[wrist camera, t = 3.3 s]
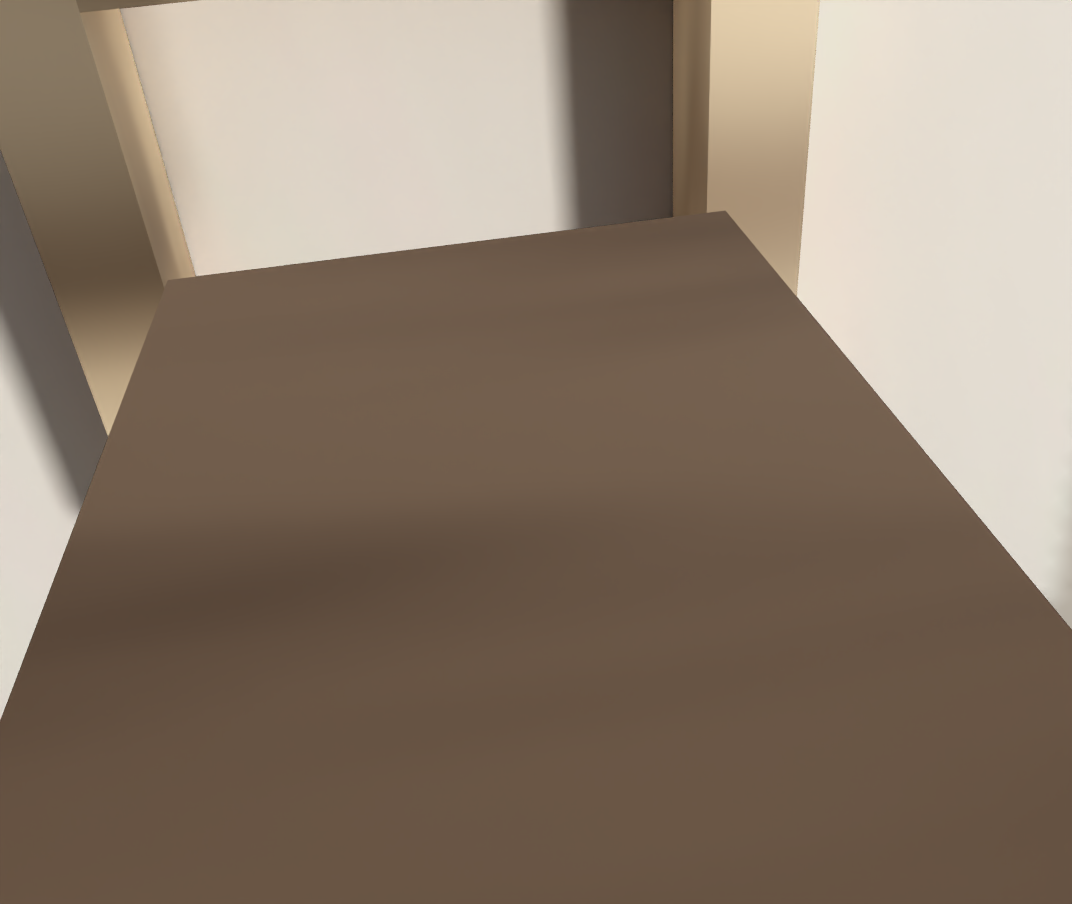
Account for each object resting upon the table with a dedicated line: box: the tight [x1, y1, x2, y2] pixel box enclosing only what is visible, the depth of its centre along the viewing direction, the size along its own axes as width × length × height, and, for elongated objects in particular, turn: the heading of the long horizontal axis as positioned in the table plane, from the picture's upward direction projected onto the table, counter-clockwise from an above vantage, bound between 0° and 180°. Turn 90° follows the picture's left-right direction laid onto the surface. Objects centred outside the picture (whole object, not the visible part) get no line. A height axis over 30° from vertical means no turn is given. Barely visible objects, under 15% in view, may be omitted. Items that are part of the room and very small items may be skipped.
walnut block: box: [0, 210, 1072, 904], centre depth 7 cm, size 5×5×8 cm
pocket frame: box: [0, 0, 820, 436], centre depth 16 cm, size 11×11×2 cm
